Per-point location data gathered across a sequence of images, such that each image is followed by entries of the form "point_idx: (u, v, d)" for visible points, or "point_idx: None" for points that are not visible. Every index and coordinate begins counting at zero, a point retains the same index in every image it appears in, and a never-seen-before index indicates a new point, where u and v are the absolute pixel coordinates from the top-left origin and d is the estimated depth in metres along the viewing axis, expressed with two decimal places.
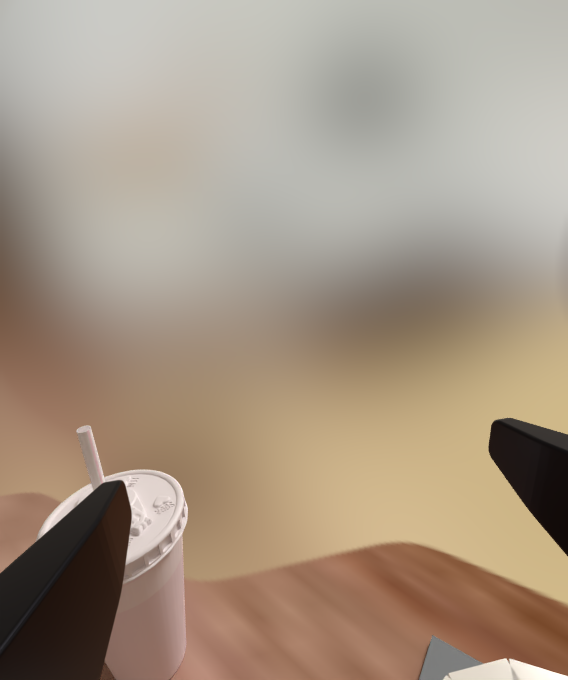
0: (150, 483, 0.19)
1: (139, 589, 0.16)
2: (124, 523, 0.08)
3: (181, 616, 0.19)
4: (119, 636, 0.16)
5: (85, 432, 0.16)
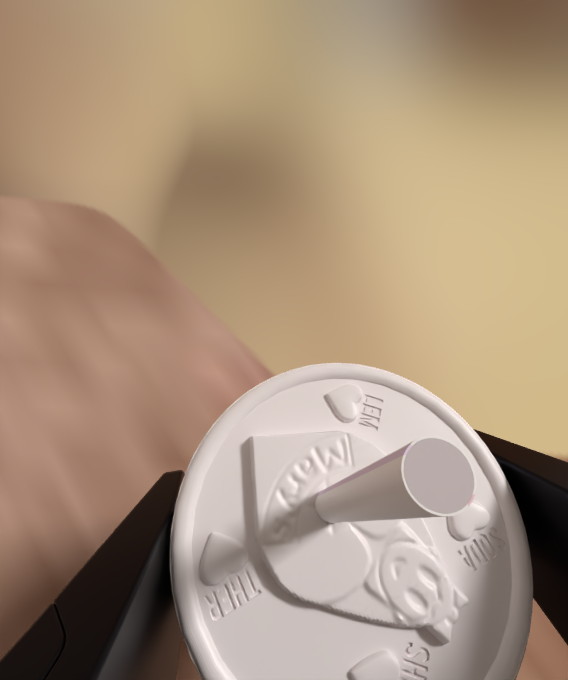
0: (418, 431, 0.07)
1: None
2: None
3: None
4: None
5: (440, 486, 0.03)
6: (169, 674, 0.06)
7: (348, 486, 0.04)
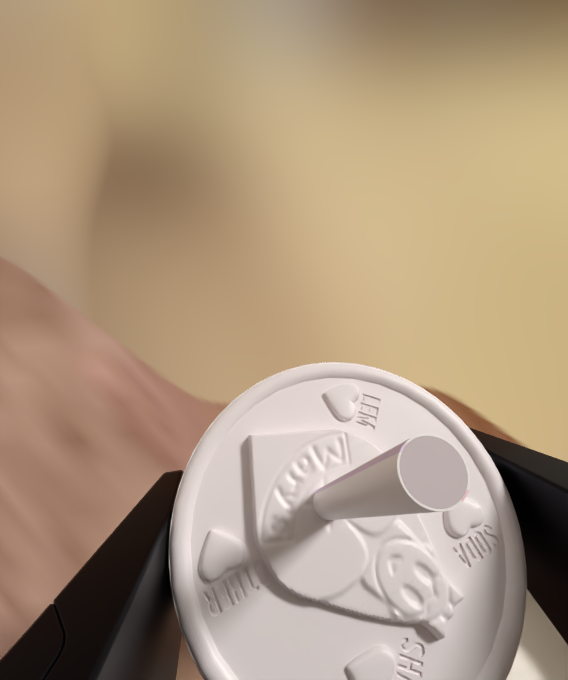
0: (415, 430, 0.07)
1: None
2: None
3: None
4: None
5: (435, 483, 0.03)
6: (169, 674, 0.06)
7: (345, 483, 0.04)
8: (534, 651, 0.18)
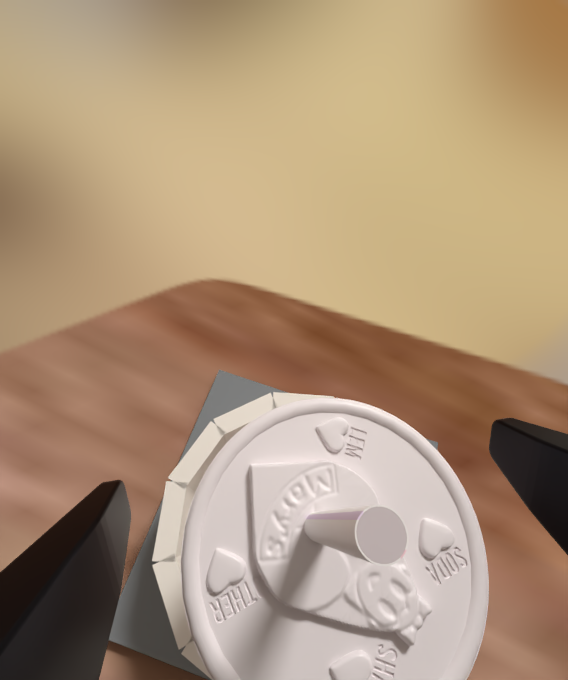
0: (396, 461, 0.08)
1: None
2: (123, 523, 0.08)
3: None
4: None
5: (384, 541, 0.04)
6: None
7: (326, 524, 0.05)
8: None
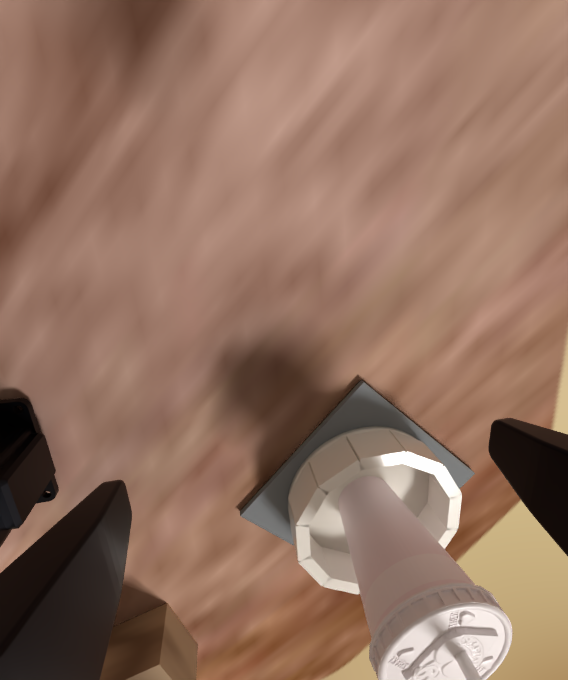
0: None
1: (369, 620, 0.17)
2: (124, 523, 0.08)
3: None
4: (364, 554, 0.19)
5: None
6: None
7: None
8: None
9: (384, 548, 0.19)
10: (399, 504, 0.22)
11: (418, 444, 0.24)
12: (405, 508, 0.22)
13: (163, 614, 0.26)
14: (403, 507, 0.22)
